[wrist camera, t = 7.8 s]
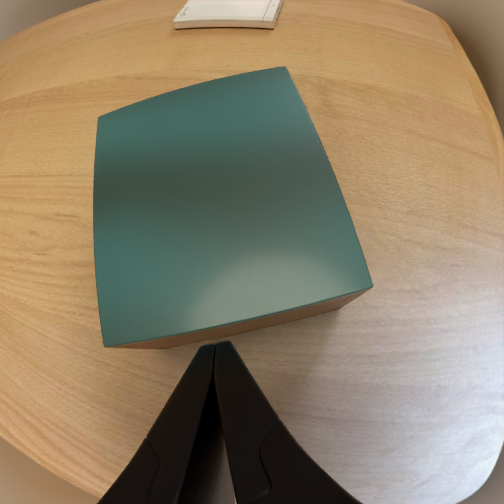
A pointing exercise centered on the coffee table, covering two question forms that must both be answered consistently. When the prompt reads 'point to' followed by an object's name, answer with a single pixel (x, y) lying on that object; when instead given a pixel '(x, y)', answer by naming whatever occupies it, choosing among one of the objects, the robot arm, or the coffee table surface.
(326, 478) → the robot arm
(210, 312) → the lid
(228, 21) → the hard drive
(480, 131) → the coffee table surface
